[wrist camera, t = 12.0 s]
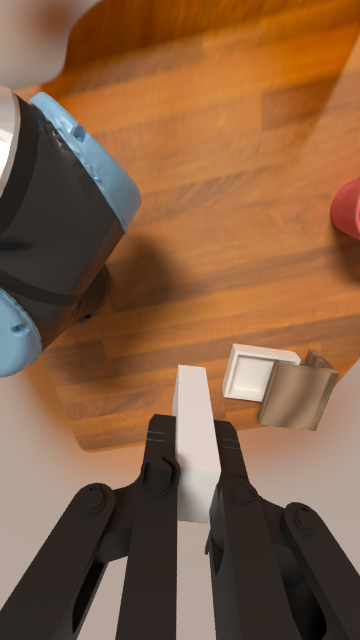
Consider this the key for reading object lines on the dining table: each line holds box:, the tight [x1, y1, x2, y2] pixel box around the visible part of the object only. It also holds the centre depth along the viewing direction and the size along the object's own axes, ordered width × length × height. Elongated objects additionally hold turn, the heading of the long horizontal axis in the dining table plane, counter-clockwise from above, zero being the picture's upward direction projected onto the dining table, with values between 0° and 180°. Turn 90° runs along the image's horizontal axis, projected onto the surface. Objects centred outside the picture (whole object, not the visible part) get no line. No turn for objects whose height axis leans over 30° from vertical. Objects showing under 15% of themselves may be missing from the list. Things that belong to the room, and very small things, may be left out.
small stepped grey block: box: [299, 358, 308, 366], centre depth 52 cm, size 2×8×2 cm, turn 172°
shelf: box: [258, 350, 339, 431], centre depth 49 cm, size 10×12×8 cm
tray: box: [222, 343, 301, 402], centre depth 51 cm, size 12×10×3 cm
